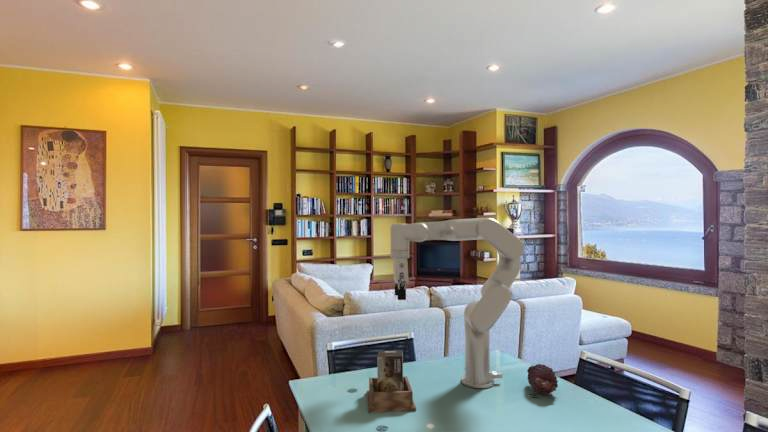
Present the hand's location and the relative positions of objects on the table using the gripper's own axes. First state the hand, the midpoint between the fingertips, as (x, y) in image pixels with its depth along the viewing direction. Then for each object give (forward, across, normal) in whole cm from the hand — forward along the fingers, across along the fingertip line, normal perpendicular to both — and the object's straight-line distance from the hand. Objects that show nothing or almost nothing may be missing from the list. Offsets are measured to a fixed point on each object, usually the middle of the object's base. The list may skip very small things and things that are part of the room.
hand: (400, 297), depth 167 cm
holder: (+33, -18, +6) cm, 38 cm away
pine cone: (+34, -15, -51) cm, 63 cm away
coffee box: (+32, -18, +6) cm, 38 cm away
